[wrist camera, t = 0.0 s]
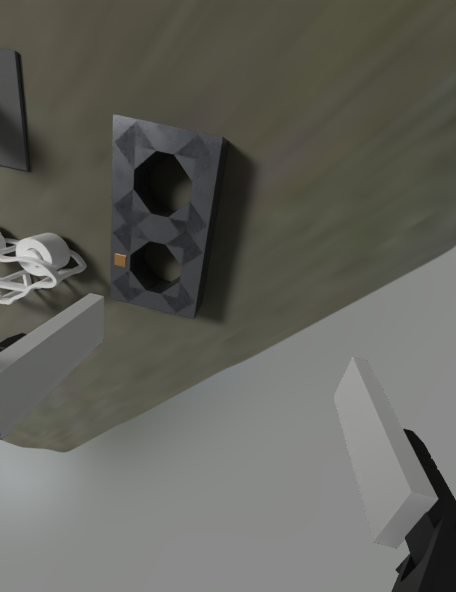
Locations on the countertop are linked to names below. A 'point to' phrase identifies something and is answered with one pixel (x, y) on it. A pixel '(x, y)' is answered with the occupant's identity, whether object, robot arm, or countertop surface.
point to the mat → (12, 113)
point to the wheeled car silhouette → (37, 263)
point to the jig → (162, 213)
